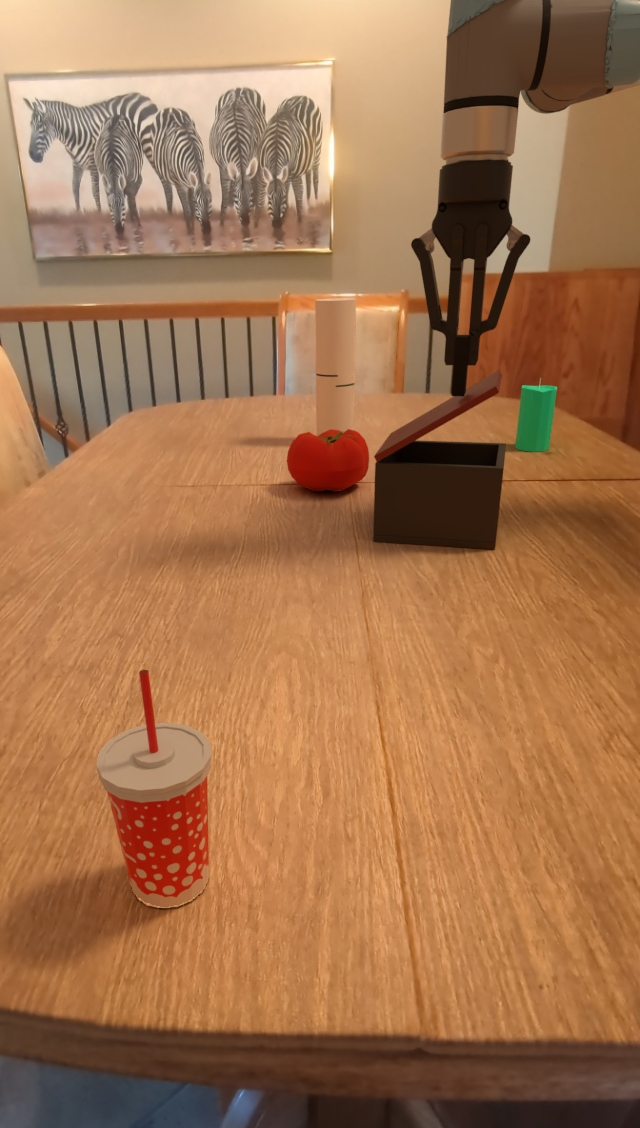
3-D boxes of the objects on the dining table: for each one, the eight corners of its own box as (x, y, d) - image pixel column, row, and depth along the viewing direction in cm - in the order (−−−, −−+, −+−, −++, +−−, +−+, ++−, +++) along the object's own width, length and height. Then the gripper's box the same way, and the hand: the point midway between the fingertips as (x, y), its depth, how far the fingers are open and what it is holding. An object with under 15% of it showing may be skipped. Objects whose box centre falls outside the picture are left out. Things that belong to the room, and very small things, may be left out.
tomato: (299, 503, 110) (298, 444, 106) (281, 481, 121) (280, 427, 117) (382, 496, 112) (384, 438, 108) (357, 475, 123) (358, 421, 119)
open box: (498, 517, 102) (506, 443, 97) (495, 549, 91) (503, 468, 86) (388, 511, 105) (391, 439, 101) (373, 541, 95) (375, 463, 90)
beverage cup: (133, 841, 47) (102, 642, 41) (230, 845, 47) (214, 644, 40) (104, 917, 42) (63, 702, 36) (213, 923, 41) (191, 705, 35)
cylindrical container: (319, 438, 148) (318, 298, 137) (356, 438, 147) (358, 297, 135) (313, 446, 142) (312, 301, 131) (351, 447, 141) (353, 300, 129)
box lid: (502, 375, 94) (499, 369, 93) (499, 392, 83) (495, 386, 83) (393, 438, 101) (390, 433, 101) (376, 462, 90) (373, 456, 90)
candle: (509, 449, 135) (517, 379, 130) (521, 442, 140) (529, 374, 134) (543, 453, 132) (552, 381, 127) (554, 446, 136) (563, 376, 131)
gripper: (540, 161, 81) (515, 390, 92) (418, 168, 84) (408, 388, 95) (542, 153, 74) (514, 401, 85) (409, 162, 78) (399, 398, 89)
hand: (458, 394), depth 90 cm, fingers closed
